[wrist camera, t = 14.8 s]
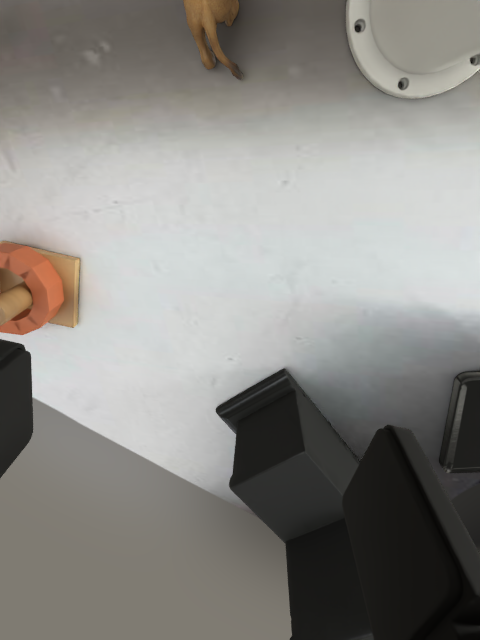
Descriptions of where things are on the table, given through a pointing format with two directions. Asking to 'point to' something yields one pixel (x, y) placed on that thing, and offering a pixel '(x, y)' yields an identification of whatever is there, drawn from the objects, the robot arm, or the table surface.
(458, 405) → the phone
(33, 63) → the table surface
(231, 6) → the lion figurine
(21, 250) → the ring
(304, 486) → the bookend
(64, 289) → the ring stand
